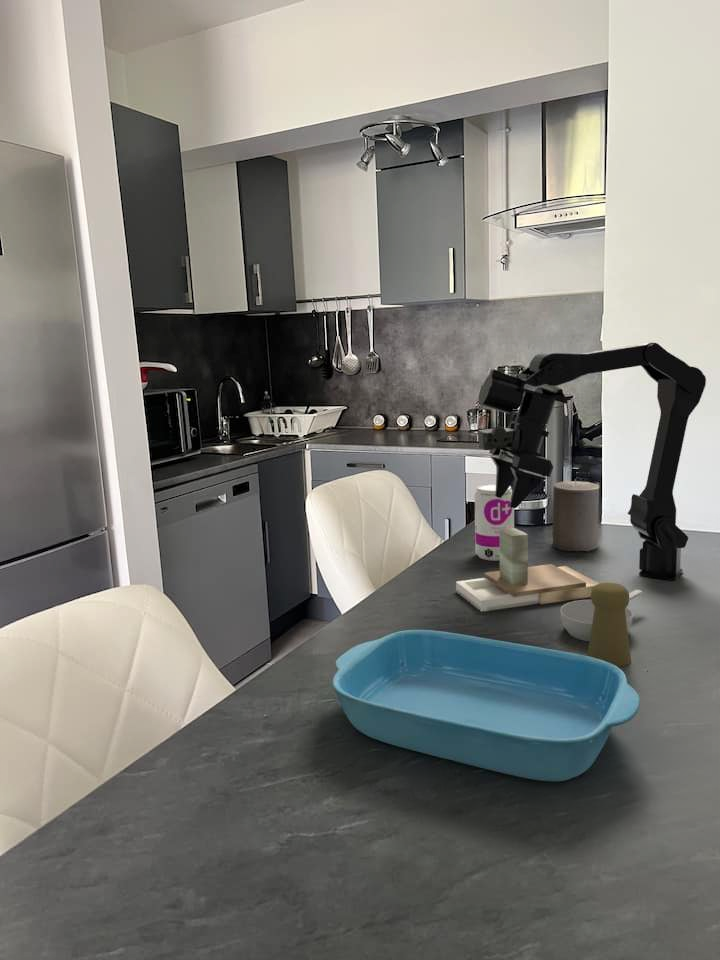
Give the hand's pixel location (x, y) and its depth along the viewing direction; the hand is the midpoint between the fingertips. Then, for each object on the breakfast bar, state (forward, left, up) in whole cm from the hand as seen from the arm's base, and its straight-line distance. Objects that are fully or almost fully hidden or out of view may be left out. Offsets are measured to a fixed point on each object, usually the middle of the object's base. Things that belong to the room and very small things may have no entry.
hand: (505, 502), depth 137 cm
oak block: (-8, -2, -16) cm, 18 cm away
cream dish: (-1, +7, -16) cm, 17 cm away
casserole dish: (-19, +48, -17) cm, 55 cm away
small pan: (-22, +9, -17) cm, 30 cm away
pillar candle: (-1, -32, -16) cm, 36 cm away
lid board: (-6, +1, -14) cm, 15 cm away
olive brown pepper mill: (-26, +21, -16) cm, 38 cm away
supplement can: (+11, -17, -16) cm, 25 cm away
